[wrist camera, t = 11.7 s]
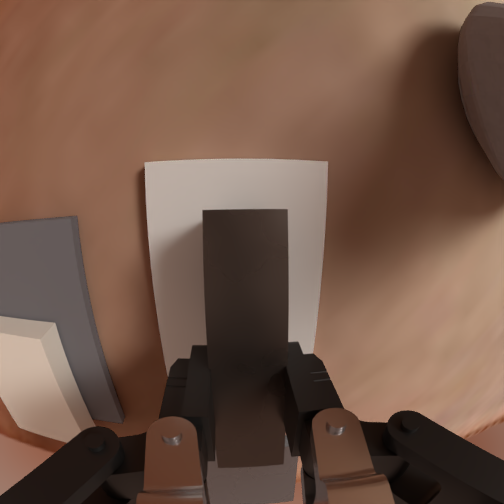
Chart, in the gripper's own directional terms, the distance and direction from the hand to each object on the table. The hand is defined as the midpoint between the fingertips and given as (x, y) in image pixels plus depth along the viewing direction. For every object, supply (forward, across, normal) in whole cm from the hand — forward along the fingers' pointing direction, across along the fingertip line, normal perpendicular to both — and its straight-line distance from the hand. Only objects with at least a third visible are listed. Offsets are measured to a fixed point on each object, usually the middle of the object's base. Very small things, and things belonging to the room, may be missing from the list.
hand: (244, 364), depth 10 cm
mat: (+3, +12, +1) cm, 13 cm away
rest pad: (+3, 0, 0) cm, 3 cm away
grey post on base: (+1, 0, +1) cm, 1 cm away
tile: (+1, +12, 0) cm, 12 cm away
